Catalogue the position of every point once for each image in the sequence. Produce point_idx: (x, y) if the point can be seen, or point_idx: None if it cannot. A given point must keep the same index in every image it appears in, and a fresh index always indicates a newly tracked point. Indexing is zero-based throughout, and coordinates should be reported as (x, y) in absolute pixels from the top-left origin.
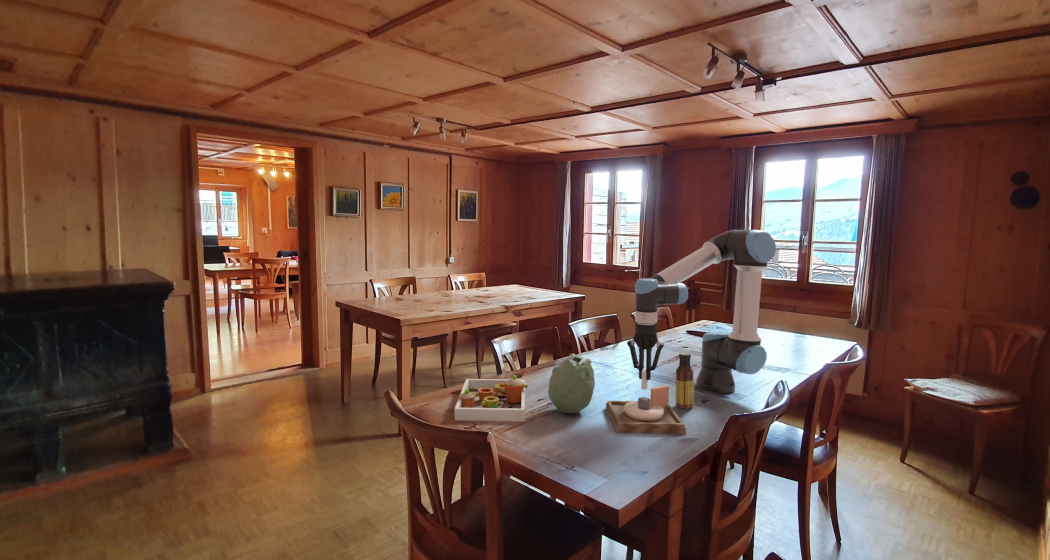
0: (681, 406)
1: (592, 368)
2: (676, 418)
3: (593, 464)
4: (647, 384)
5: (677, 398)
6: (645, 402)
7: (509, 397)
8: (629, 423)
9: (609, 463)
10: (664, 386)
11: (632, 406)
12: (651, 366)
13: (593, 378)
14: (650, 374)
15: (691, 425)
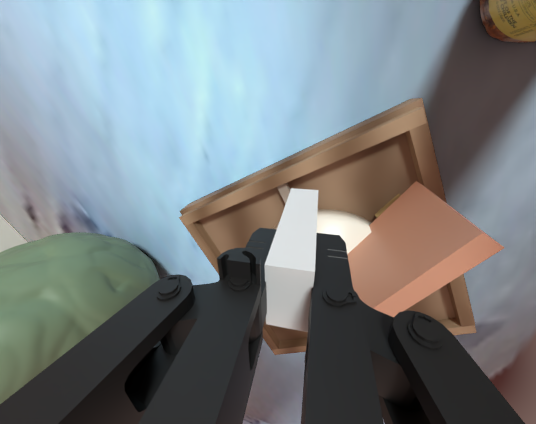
0: (513, 41)
1: (14, 364)
2: (451, 291)
3: (280, 418)
4: (317, 199)
5: (520, 15)
6: None
7: None
8: (301, 351)
9: (300, 416)
10: (457, 265)
11: None
12: (375, 363)
13: (83, 333)
14: (348, 269)
15: (504, 241)
